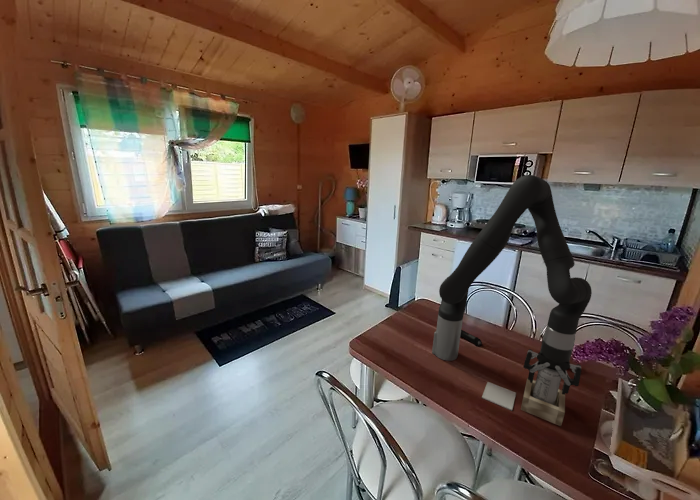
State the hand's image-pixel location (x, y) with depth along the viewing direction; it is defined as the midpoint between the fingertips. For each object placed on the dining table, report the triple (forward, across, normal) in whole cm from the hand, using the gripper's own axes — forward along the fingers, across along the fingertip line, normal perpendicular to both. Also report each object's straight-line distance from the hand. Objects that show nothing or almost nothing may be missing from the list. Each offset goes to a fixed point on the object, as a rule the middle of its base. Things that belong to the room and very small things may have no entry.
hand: (546, 386), depth 95 cm
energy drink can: (+8, 0, 0) cm, 8 cm away
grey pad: (+8, +12, +3) cm, 15 cm away
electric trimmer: (+8, +31, -26) cm, 41 cm away
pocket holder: (+8, 0, 0) cm, 8 cm away
